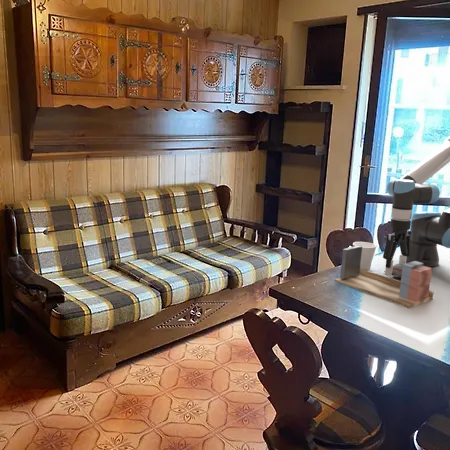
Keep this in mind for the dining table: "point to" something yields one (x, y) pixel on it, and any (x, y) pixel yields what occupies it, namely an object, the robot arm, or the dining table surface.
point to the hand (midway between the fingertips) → (395, 272)
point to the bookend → (351, 262)
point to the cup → (366, 254)
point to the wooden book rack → (396, 285)
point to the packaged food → (397, 270)
